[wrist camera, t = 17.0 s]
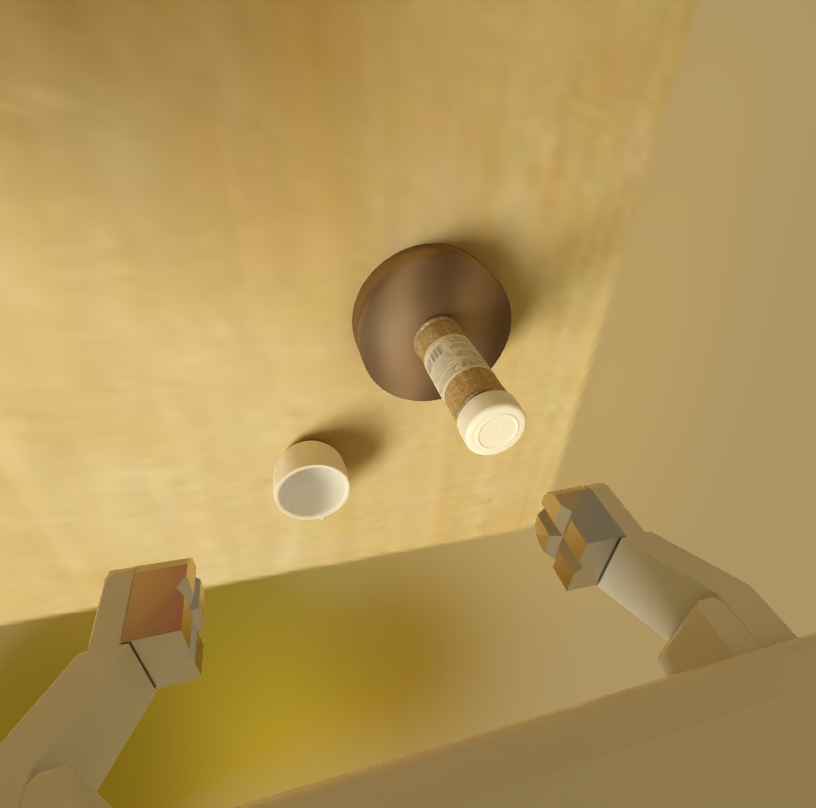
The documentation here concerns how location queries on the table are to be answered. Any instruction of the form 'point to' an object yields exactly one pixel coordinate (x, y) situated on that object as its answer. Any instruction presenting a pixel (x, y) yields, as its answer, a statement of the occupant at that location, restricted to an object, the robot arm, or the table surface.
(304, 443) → the teacup
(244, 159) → the table surface
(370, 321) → the disc
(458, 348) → the sprinkles bottle
